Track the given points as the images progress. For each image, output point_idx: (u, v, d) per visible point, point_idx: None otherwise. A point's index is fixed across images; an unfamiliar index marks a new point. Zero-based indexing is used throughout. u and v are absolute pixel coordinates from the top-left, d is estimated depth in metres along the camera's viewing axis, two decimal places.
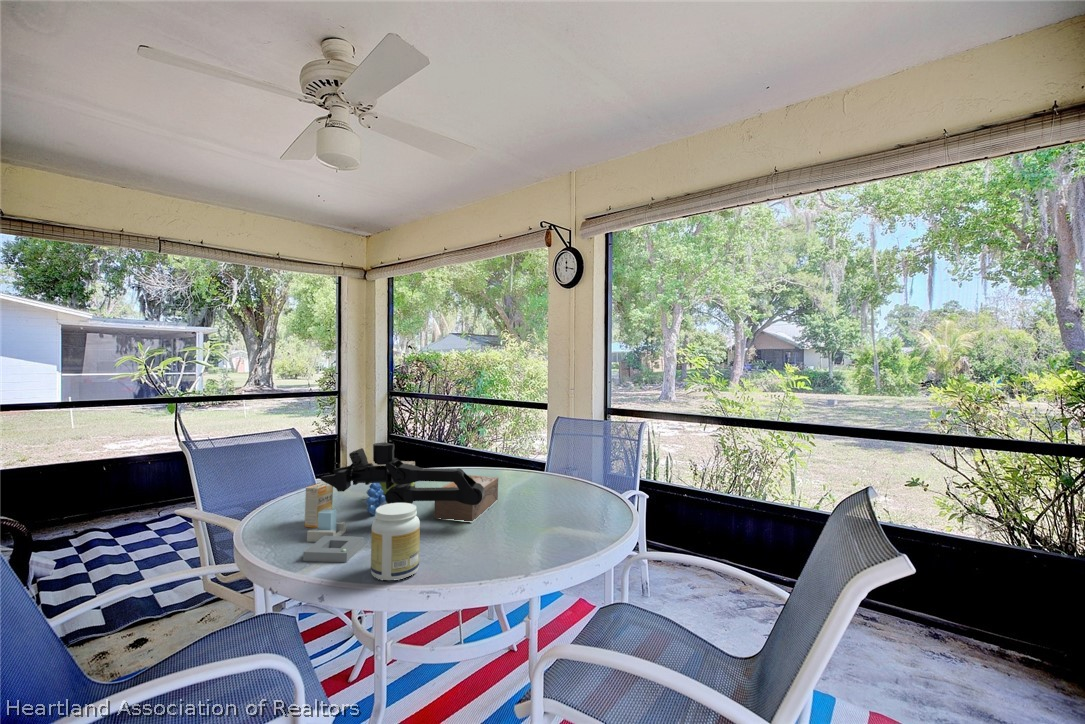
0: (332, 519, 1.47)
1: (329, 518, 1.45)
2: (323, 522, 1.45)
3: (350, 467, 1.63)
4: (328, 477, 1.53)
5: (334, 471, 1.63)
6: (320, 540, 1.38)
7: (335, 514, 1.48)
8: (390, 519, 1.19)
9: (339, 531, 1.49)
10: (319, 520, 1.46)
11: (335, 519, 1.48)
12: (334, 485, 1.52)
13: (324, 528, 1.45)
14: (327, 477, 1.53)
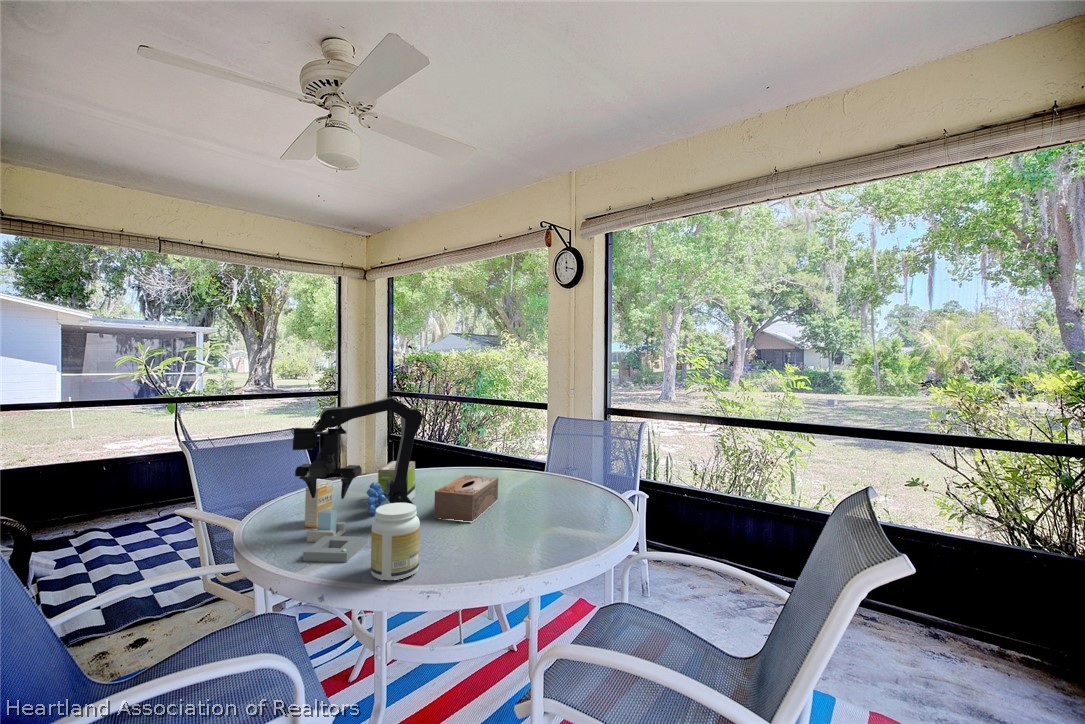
0: (332, 519, 1.47)
1: (329, 518, 1.45)
2: (323, 522, 1.45)
3: (311, 480, 1.47)
4: (345, 489, 1.47)
5: (314, 496, 1.48)
6: (320, 540, 1.38)
7: (335, 514, 1.48)
8: (390, 519, 1.19)
9: (339, 531, 1.49)
10: (319, 520, 1.46)
11: (335, 519, 1.48)
12: (351, 480, 1.49)
13: (324, 528, 1.45)
14: (345, 491, 1.47)
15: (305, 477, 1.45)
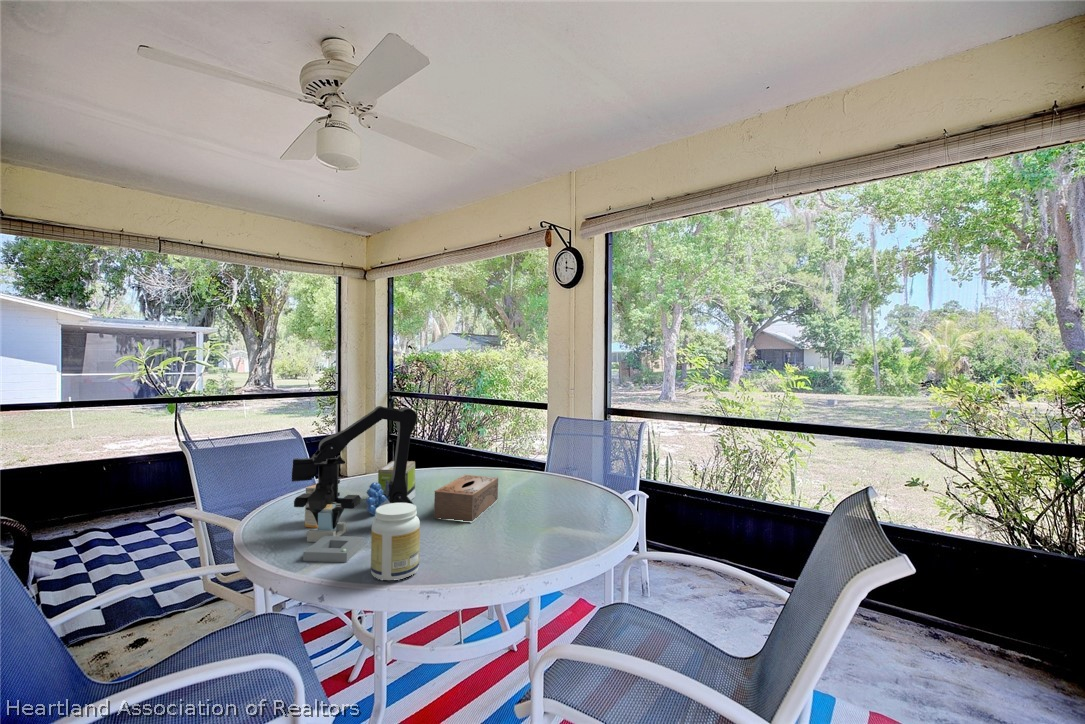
0: (332, 519, 1.47)
1: (329, 518, 1.45)
2: (323, 522, 1.45)
3: (317, 510, 1.46)
4: (336, 519, 1.47)
5: None
6: (320, 540, 1.38)
7: None
8: (390, 519, 1.19)
9: (339, 531, 1.49)
10: (319, 520, 1.46)
11: None
12: (342, 510, 1.49)
13: (324, 527, 1.45)
14: (336, 521, 1.47)
15: None
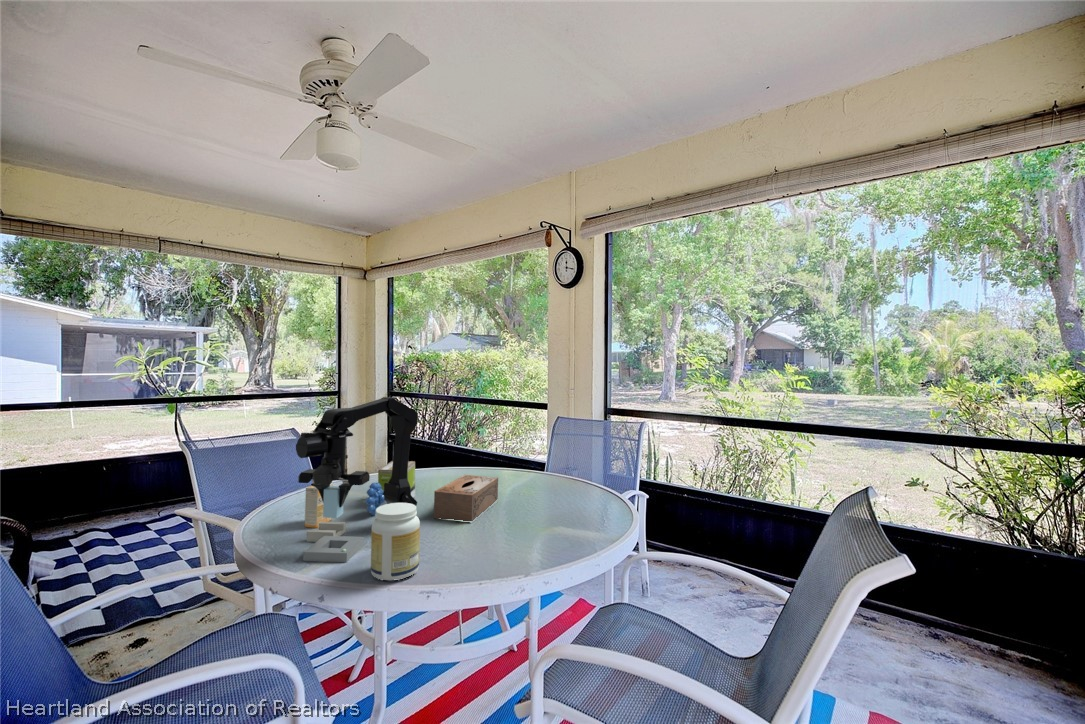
0: (339, 497, 1.36)
1: (335, 495, 1.35)
2: (329, 500, 1.35)
3: (323, 487, 1.36)
4: (343, 497, 1.36)
5: None
6: (320, 540, 1.38)
7: None
8: (390, 519, 1.19)
9: (339, 531, 1.49)
10: (325, 497, 1.35)
11: None
12: (350, 487, 1.39)
13: (330, 505, 1.35)
14: (343, 498, 1.36)
15: (317, 484, 1.35)
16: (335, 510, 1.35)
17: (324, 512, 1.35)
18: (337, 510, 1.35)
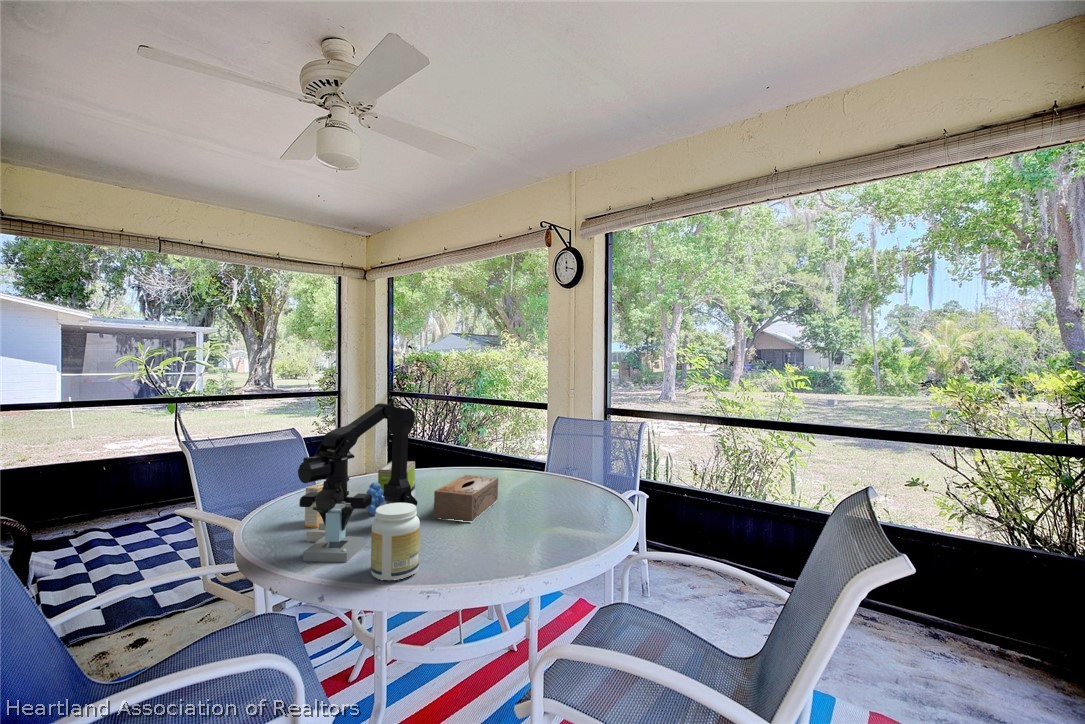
0: (341, 520, 1.35)
1: (338, 519, 1.33)
2: (331, 524, 1.33)
3: (325, 511, 1.34)
4: (346, 520, 1.35)
5: None
6: (320, 540, 1.38)
7: None
8: (390, 519, 1.19)
9: None
10: (327, 521, 1.33)
11: None
12: (352, 510, 1.37)
13: (332, 529, 1.33)
14: (345, 522, 1.35)
15: None
16: (338, 534, 1.33)
17: (326, 536, 1.33)
18: (339, 534, 1.34)
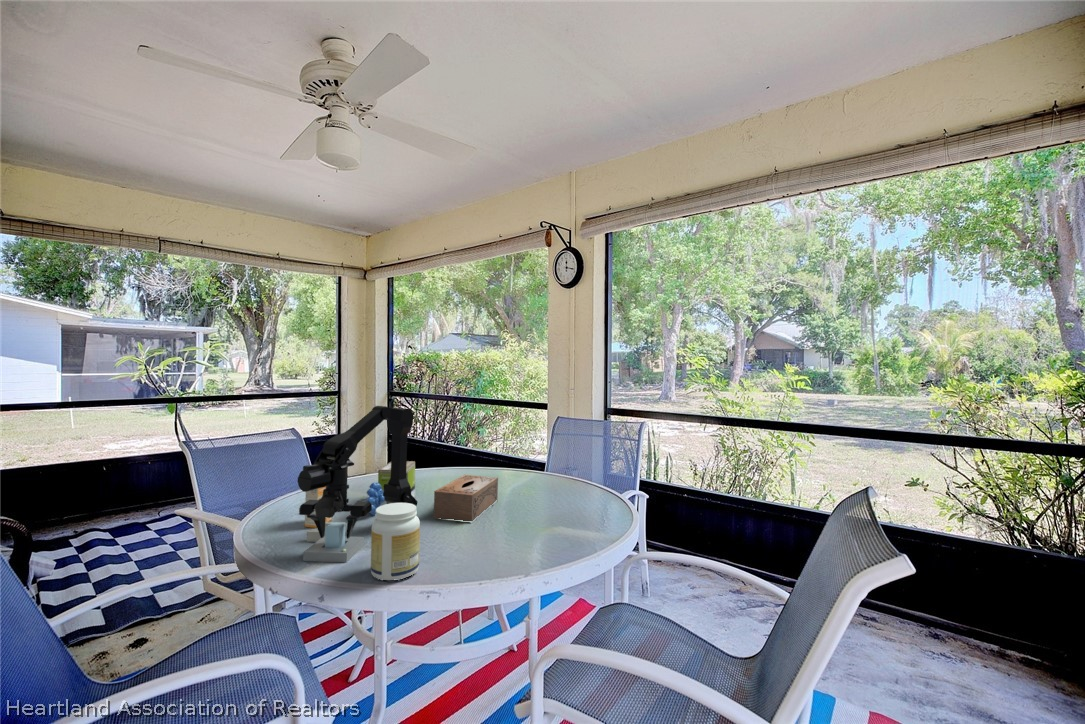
0: (341, 534, 1.35)
1: (337, 533, 1.33)
2: (331, 538, 1.33)
3: (319, 518, 1.34)
4: (351, 528, 1.35)
5: (323, 535, 1.36)
6: (320, 540, 1.38)
7: (343, 529, 1.36)
8: (390, 519, 1.19)
9: None
10: (326, 535, 1.33)
11: (343, 534, 1.36)
12: None
13: (331, 543, 1.33)
14: (350, 530, 1.35)
15: (313, 516, 1.33)
16: None
17: None
18: None
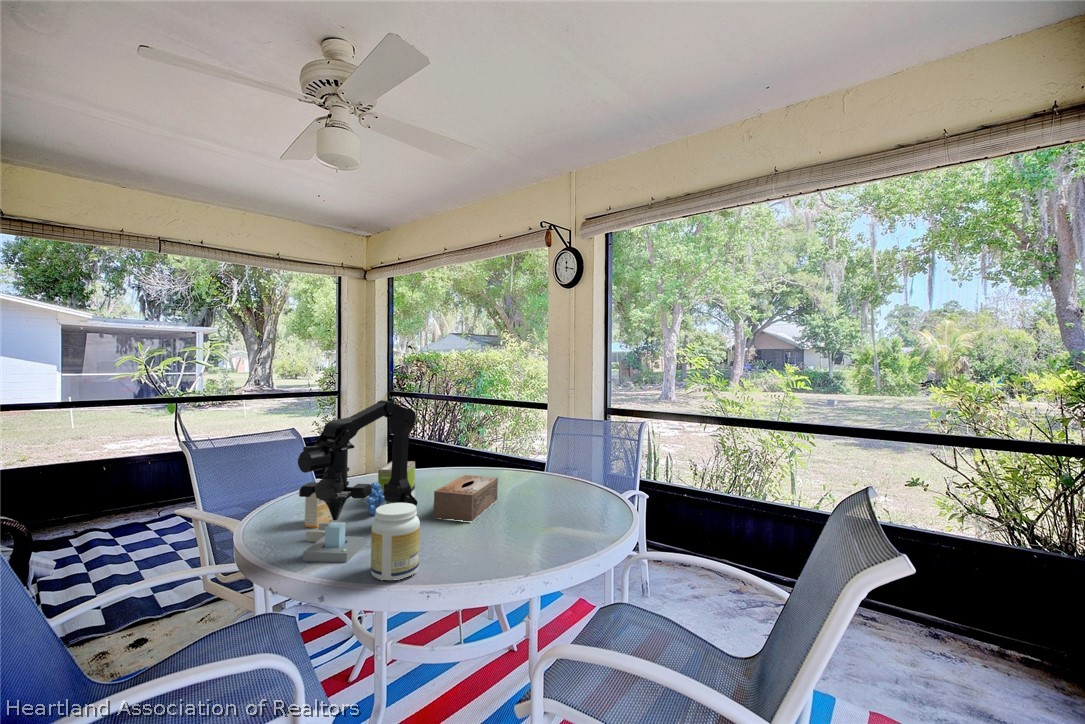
0: (341, 534, 1.35)
1: (337, 533, 1.33)
2: (331, 538, 1.33)
3: (332, 501, 1.34)
4: (339, 510, 1.35)
5: None
6: (320, 540, 1.38)
7: (343, 529, 1.36)
8: (390, 519, 1.19)
9: None
10: (326, 535, 1.33)
11: (343, 534, 1.36)
12: (345, 500, 1.37)
13: (331, 543, 1.33)
14: (338, 511, 1.35)
15: (326, 498, 1.33)
16: None
17: None
18: None
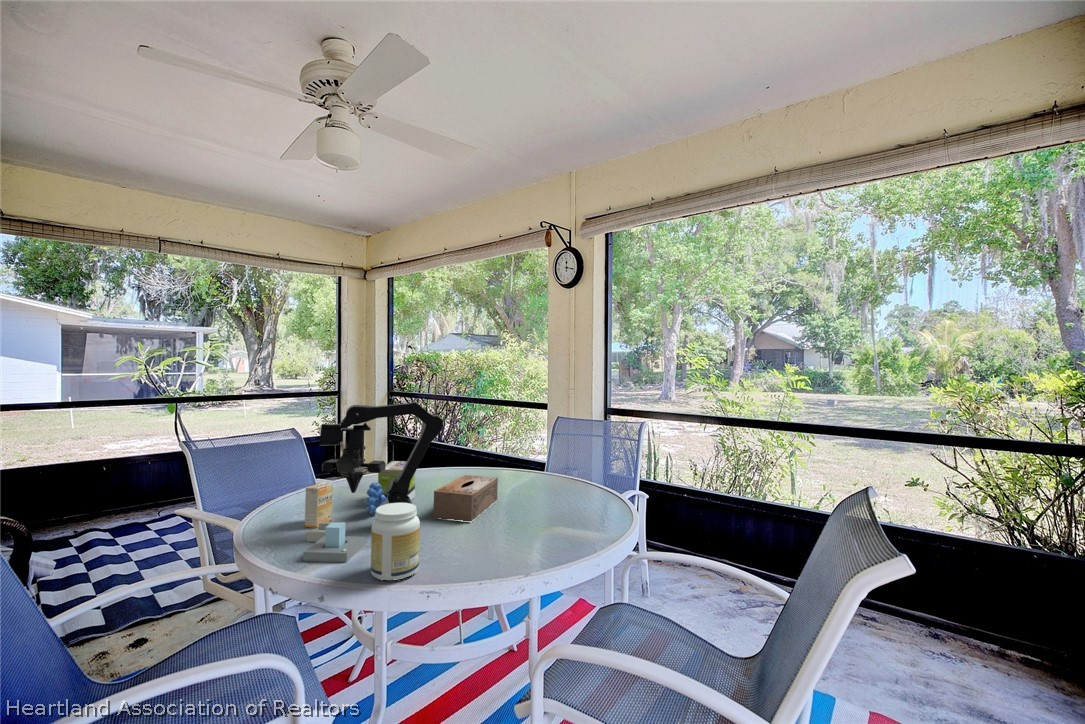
0: (341, 534, 1.35)
1: (337, 533, 1.33)
2: (331, 538, 1.33)
3: (350, 475, 1.51)
4: (356, 484, 1.52)
5: None
6: (320, 540, 1.38)
7: (343, 529, 1.36)
8: (390, 519, 1.19)
9: None
10: (326, 535, 1.33)
11: (343, 534, 1.36)
12: (362, 475, 1.54)
13: (331, 543, 1.33)
14: (356, 485, 1.52)
15: (345, 472, 1.50)
16: None
17: None
18: None
